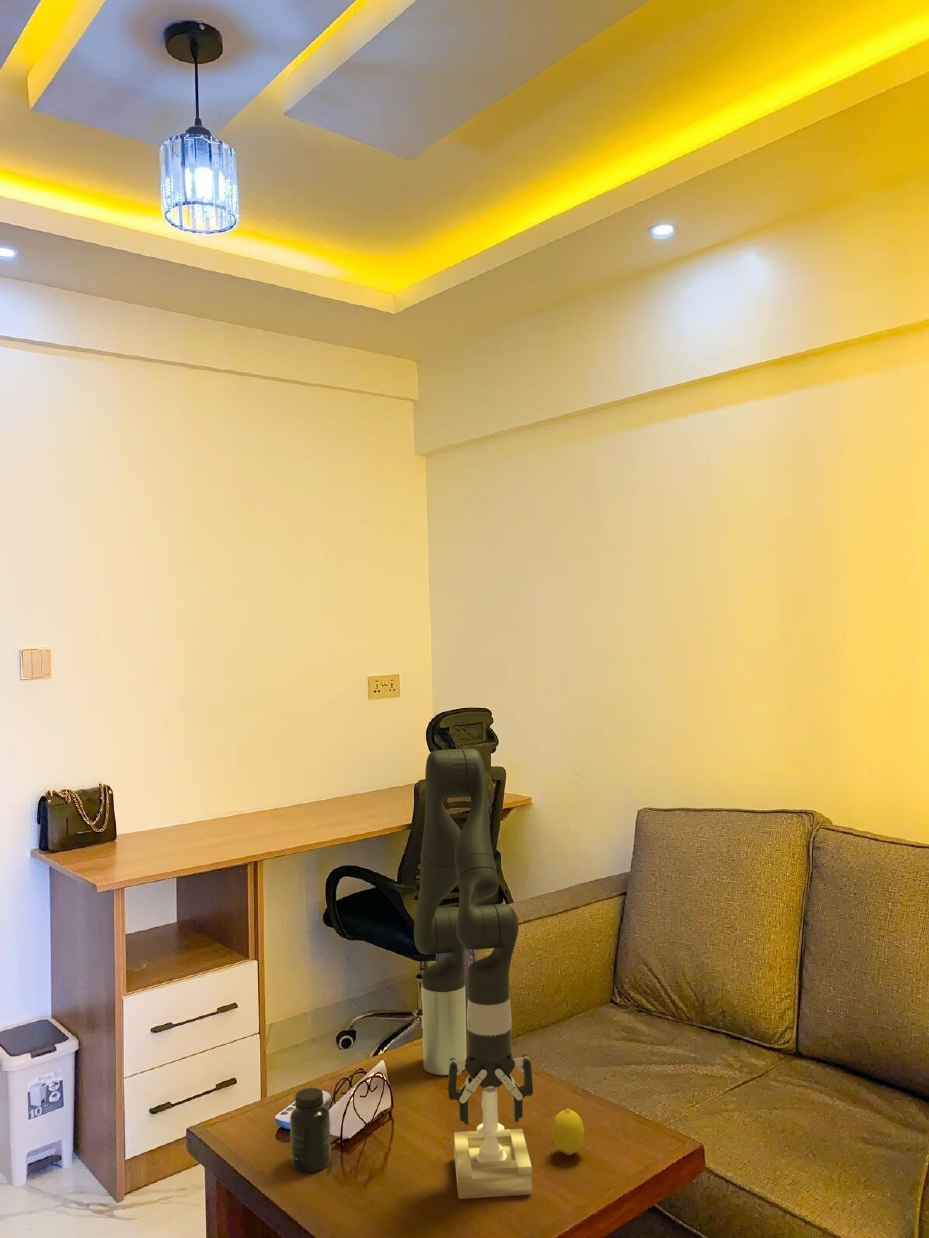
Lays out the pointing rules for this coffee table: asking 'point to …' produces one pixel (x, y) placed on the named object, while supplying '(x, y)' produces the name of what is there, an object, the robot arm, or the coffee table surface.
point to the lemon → (568, 1131)
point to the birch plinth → (492, 1166)
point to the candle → (490, 1128)
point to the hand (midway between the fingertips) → (490, 1121)
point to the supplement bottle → (310, 1132)
